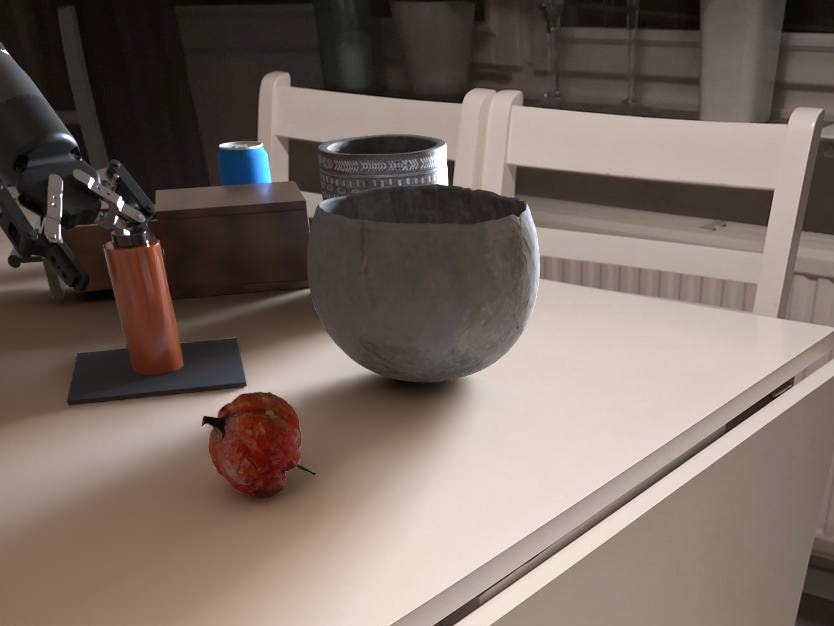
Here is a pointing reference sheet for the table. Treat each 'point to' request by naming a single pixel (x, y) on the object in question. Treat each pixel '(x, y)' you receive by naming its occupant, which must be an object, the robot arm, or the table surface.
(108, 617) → the table surface
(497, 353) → the bowl
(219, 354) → the mat
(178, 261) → the cabinet
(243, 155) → the beverage can
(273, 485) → the pomegranate
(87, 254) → the drawer
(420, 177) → the planter
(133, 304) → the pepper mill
